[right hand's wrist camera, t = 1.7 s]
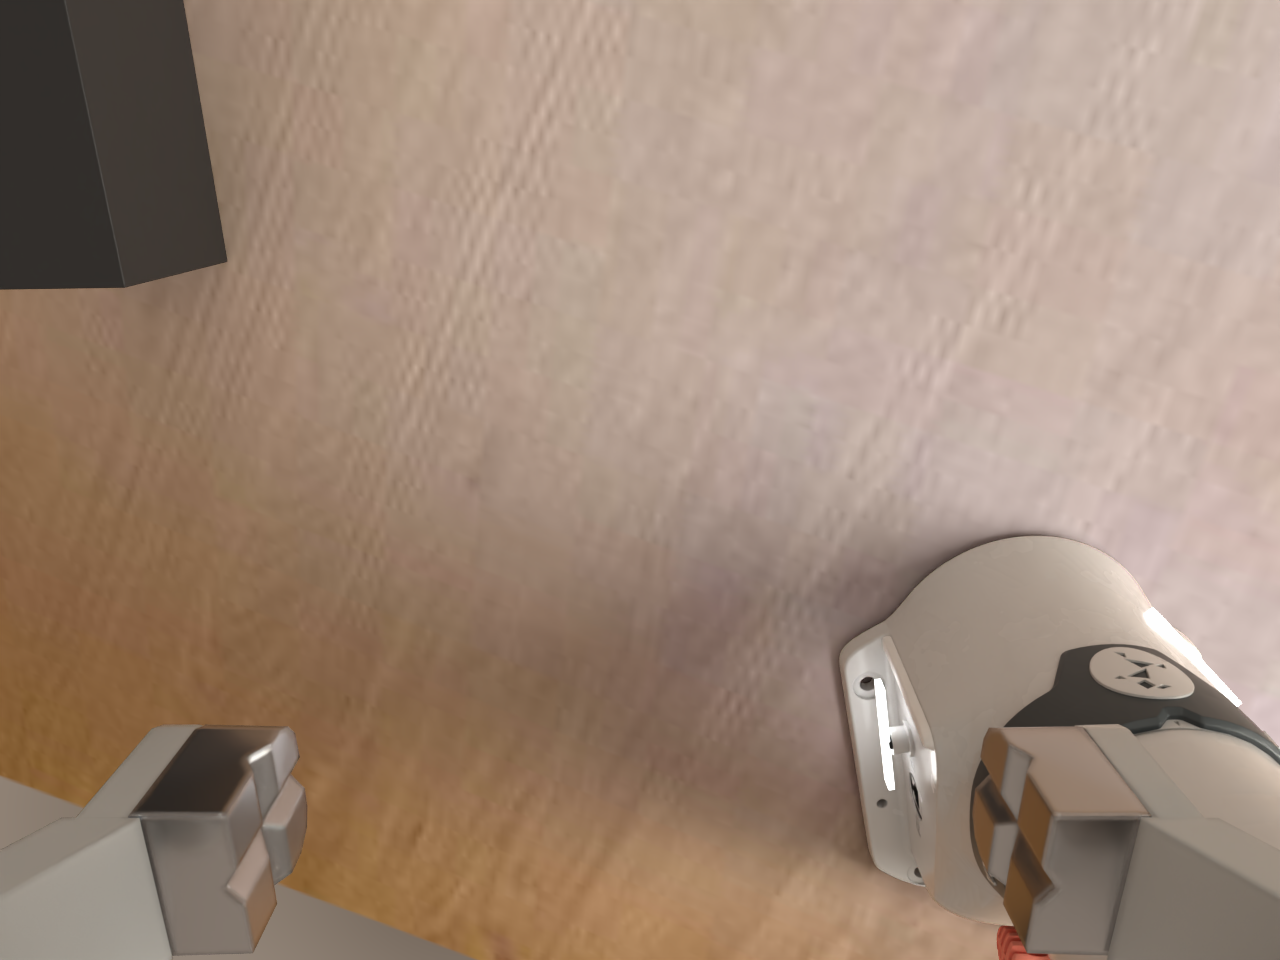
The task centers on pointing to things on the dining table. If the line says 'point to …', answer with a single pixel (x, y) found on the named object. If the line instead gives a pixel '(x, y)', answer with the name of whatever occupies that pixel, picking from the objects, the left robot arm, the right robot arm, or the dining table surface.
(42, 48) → the box
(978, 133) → the dining table surface
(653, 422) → the dining table surface
